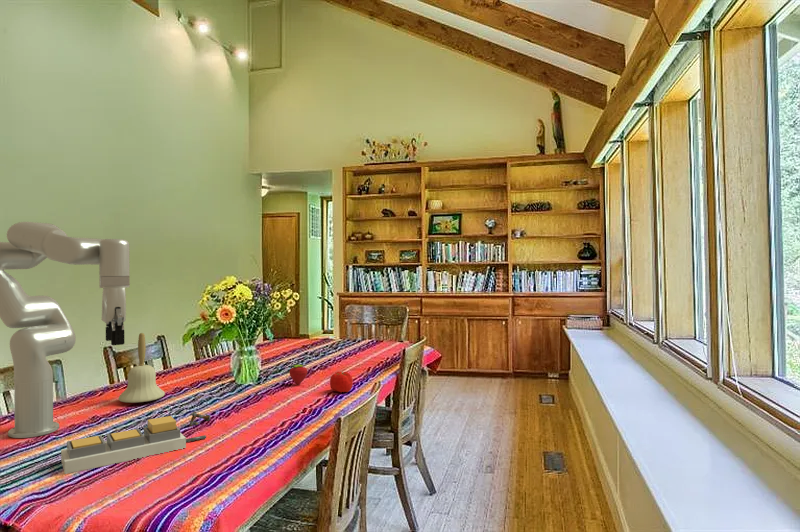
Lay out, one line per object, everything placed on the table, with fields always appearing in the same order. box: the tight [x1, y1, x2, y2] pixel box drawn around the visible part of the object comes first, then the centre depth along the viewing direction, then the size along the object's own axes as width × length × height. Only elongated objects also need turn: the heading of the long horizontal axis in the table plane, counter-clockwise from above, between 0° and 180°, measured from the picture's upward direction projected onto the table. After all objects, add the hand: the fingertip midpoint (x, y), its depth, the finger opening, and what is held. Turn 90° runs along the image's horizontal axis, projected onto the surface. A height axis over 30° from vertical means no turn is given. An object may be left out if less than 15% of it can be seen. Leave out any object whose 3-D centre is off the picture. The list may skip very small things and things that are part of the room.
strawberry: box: [288, 361, 308, 386], centre depth 215 cm, size 6×8×10 cm
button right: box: [147, 415, 177, 433], centre depth 143 cm, size 6×6×2 cm
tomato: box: [329, 371, 354, 394], centre depth 205 cm, size 9×9×8 cm
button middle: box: [110, 428, 140, 442], centre depth 138 cm, size 6×6×2 cm
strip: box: [60, 425, 207, 475], centre depth 140 cm, size 10×35×5 cm, turn 127°
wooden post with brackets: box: [188, 410, 212, 427], centre depth 164 cm, size 2×8×4 cm, turn 159°
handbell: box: [117, 332, 166, 404], centre depth 190 cm, size 15×15×25 cm
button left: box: [70, 435, 101, 449], centre depth 132 cm, size 6×6×2 cm
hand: (114, 342), depth 147 cm, fingers open, 9 cm apart
